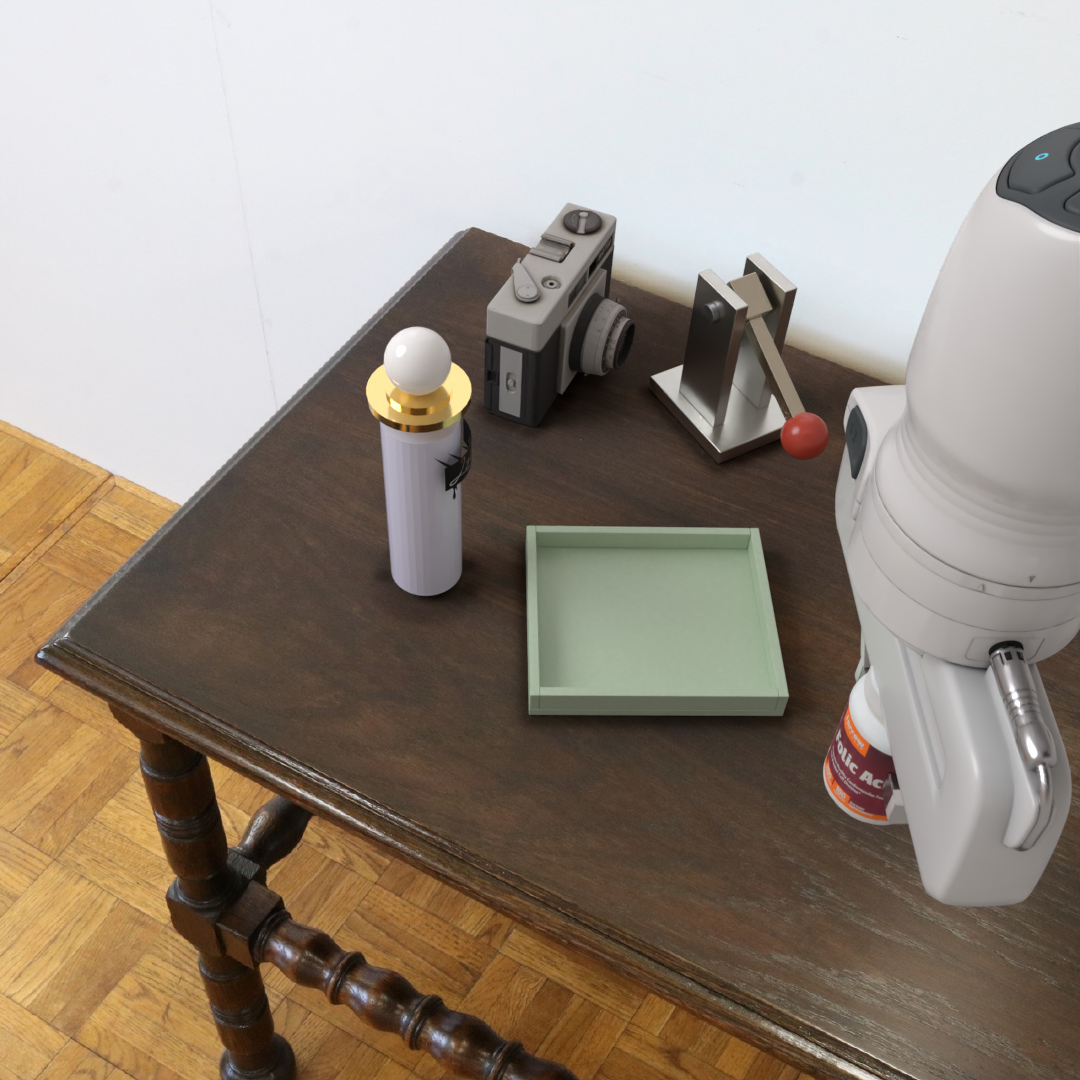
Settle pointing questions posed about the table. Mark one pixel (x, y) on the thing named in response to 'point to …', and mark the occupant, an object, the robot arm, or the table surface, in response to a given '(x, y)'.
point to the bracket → (727, 366)
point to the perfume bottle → (422, 457)
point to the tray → (651, 622)
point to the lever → (779, 375)
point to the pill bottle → (860, 756)
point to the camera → (555, 318)
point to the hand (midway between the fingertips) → (887, 747)
